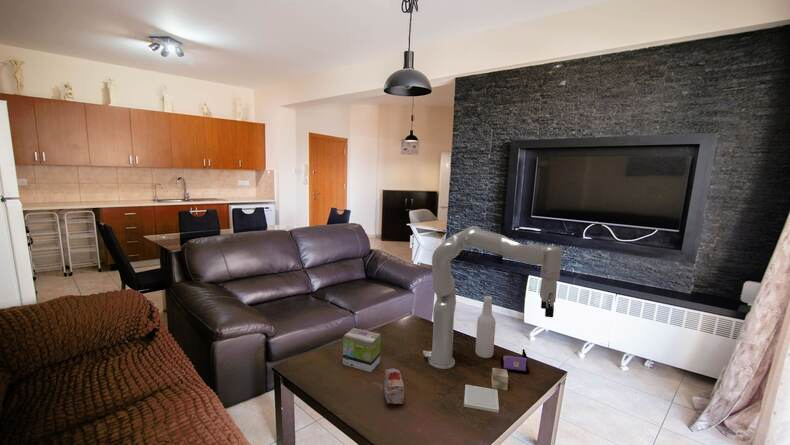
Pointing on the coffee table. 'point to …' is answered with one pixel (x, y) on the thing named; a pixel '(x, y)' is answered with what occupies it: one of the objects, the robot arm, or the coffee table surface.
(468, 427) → the coffee table surface
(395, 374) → the food item
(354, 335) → the tea box
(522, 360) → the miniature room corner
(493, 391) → the plate
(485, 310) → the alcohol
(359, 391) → the coffee table surface
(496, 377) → the maple cube
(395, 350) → the coffee table surface
